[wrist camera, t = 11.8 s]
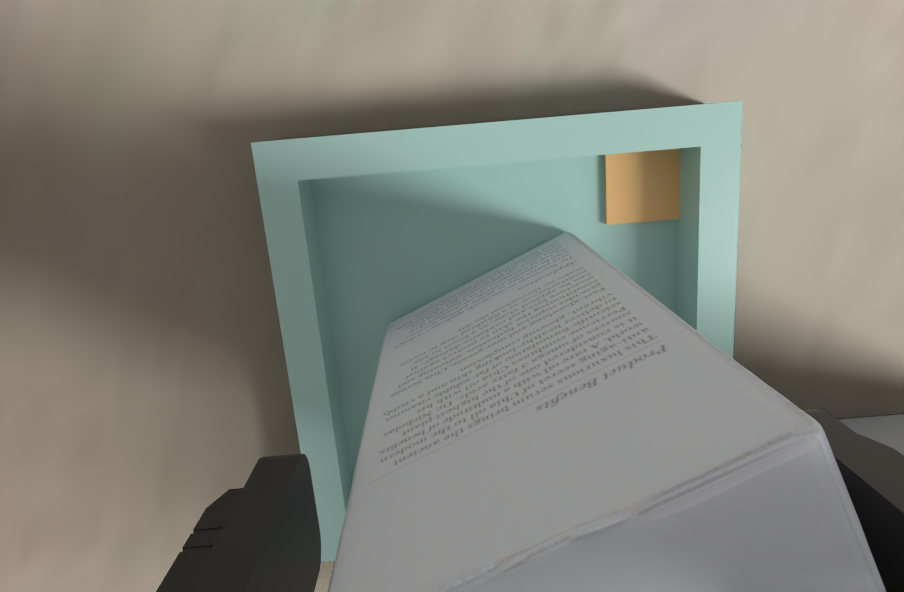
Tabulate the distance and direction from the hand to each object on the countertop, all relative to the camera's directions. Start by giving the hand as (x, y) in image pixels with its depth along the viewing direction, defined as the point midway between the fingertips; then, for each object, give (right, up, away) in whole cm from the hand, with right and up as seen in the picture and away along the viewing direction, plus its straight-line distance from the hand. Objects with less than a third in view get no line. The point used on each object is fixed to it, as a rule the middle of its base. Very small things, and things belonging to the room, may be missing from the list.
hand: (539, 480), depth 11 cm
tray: (0, +2, +8) cm, 8 cm away
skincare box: (0, +2, +8) cm, 8 cm away
